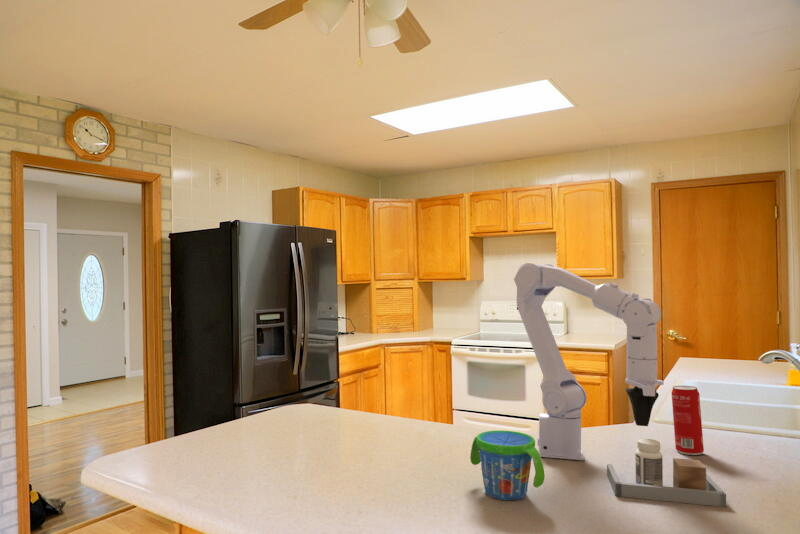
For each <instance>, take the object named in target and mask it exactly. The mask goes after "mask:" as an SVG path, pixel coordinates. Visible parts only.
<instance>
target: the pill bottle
mask: <svg viewBox="0 0 800 534" xmlns="http://www.w3.org/2000/svg"><path fill="white" fill-rule="evenodd" d="M636 444H637V445H636V446H637V448H638V449H636V450H635V453H634V454H635V484H645V485H655V486H663V485H664V483H663V482H664V481H663V480H664V479H663V469H664V468H663V467H664V466H663V457H664V456H663V453H662V452H661V442H660V441H659V440H656V439H651V438H639V439H637V443H636Z"/></svg>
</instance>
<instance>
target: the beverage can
mask: <svg viewBox="0 0 800 534" xmlns="http://www.w3.org/2000/svg"><path fill="white" fill-rule="evenodd" d="M700 398H701V396H700V392H699V390H698V387H696V386H691V385H674V386H672V390H671V405H672V416H673V417H672V419H673V430H674V432H673V433H674V445H675V450H676V451H677V452H678V453H680V454H683V455H689V456H697V455H698V456H699V455H702V454H703V453H704V452H705V450H704V449H705V447H704V438H703V437H704V436H703V435H704V434H703V423H702V410H701V399H700Z"/></svg>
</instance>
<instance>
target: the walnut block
mask: <svg viewBox="0 0 800 534" xmlns="http://www.w3.org/2000/svg"><path fill="white" fill-rule="evenodd" d="M706 474H707V467H706V466H705V465H704V464H703V463H702V461H701V460H700V459H699V460H697V459H688V458H687V459H686V458H676V457H673V458H672V479H673V480H672V482H673V483H672V484H673V485H672V487H676V488H687V489H697V490H706Z"/></svg>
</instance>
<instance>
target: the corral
mask: <svg viewBox="0 0 800 534" xmlns="http://www.w3.org/2000/svg"><path fill="white" fill-rule="evenodd" d="M606 476H607V479H608V481H609V483H610V486H611V488H612V491H613V493H614V496H616V497H622V498H623V497H625V498H634V499H642V500H643V499H644V500H653V501H663V502H673V503H674V502H675V503H682V504H683V503H684V504H691V505H692V504H693V505H703V506H710V507H711V506H712V507H724V508H727V494H726V492H724V491H723V489H721V487H720V486H719V485H718V484H717V483H716V482H715V481H714V480H713V479H712V478H711V477H710V476H709V475H708V473H706V490H697V489H687V488H676V487H673V486H665V485H664V486H655V485H645V484H636V483H635V482H634V483H632V482H625V481H622V482H621V480H620V478H619V476H618V474H617V472H616V470H615V467H614V466H613V464H610V463H607V464H606Z"/></svg>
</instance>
